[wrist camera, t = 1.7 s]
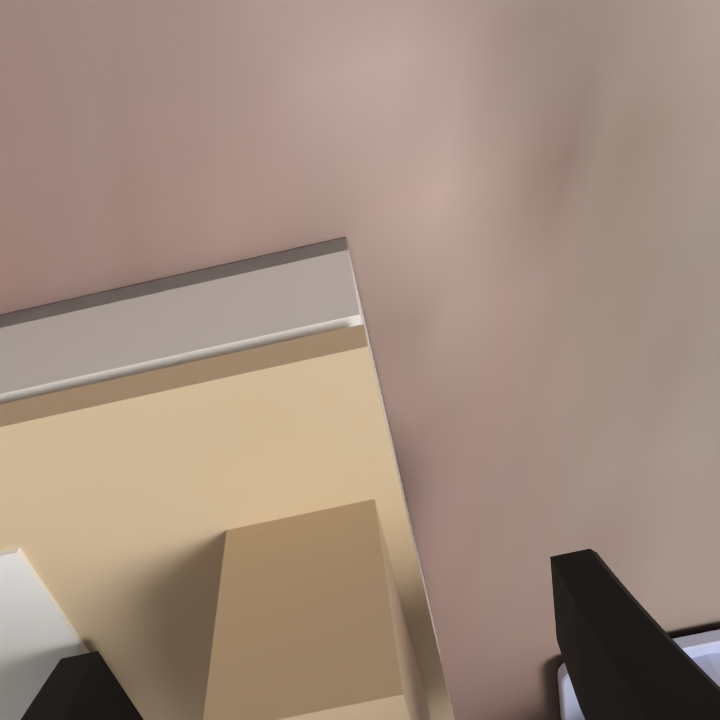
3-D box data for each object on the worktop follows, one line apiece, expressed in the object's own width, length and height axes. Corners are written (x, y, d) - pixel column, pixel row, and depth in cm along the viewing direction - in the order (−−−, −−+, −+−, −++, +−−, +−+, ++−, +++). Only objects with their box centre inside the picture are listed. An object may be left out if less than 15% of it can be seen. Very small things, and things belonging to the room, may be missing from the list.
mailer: (345, 237, 12) (360, 314, 9) (430, 605, 17) (453, 721, 14) (-352, 395, 12) (-530, 511, 10) (-63, 707, 17) (-126, 837, 15)
